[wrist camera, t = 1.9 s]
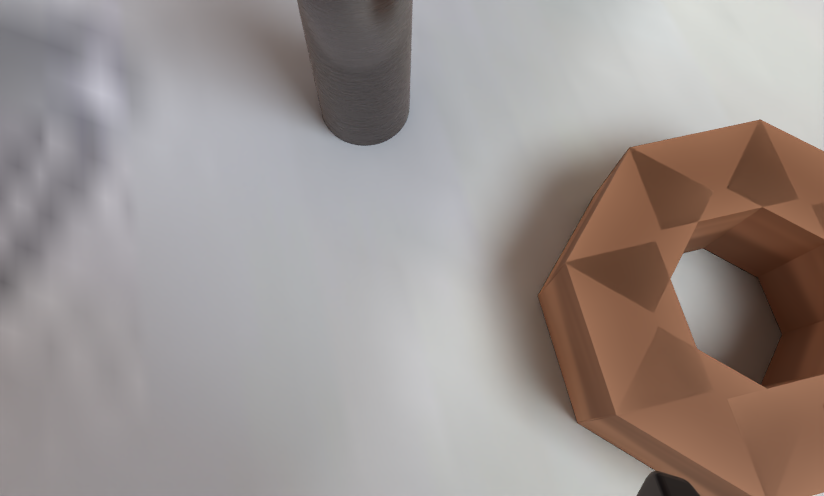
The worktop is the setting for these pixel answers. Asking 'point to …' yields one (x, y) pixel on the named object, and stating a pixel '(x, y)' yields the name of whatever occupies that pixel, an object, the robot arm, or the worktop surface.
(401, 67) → the brushed steel cylinder
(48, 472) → the worktop surface
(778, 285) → the bead
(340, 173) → the worktop surface
